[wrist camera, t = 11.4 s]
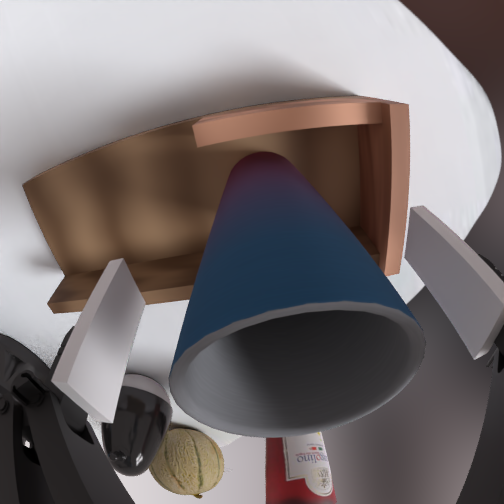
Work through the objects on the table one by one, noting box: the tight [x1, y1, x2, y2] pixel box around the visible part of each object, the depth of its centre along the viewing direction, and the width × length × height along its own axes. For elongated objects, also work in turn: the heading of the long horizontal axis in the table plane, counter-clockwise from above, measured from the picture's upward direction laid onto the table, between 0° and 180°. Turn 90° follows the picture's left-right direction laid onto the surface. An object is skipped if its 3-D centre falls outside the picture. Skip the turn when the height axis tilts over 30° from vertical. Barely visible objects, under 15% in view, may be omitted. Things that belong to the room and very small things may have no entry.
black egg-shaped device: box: [101, 374, 173, 476], centre depth 30 cm, size 10×10×15 cm
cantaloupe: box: [149, 428, 224, 498], centre depth 41 cm, size 15×15×15 cm
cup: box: [169, 152, 426, 438], centre depth 13 cm, size 7×7×15 cm
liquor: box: [265, 432, 337, 504], centre depth 23 cm, size 7×7×28 cm
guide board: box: [22, 96, 410, 314], centre depth 18 cm, size 28×11×7 cm, turn 100°
